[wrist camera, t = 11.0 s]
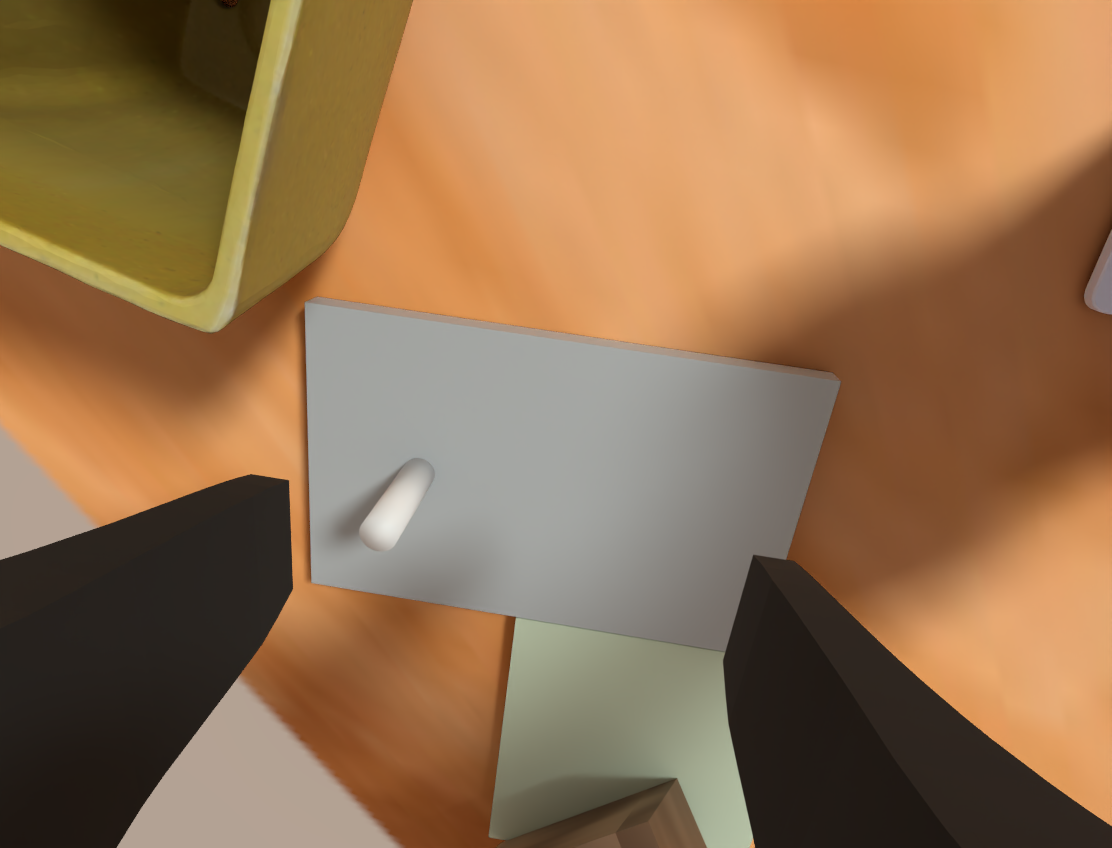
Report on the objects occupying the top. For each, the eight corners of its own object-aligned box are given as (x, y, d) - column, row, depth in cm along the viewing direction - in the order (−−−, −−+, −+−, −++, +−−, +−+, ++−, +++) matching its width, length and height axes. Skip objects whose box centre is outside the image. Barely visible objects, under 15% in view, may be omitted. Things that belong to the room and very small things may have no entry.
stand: (832, 372, 18) (892, 432, 14) (751, 640, 22) (780, 748, 18) (317, 296, 19) (233, 333, 15) (321, 569, 23) (255, 658, 19)
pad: (809, 654, 22) (813, 667, 21) (734, 867, 26) (737, 882, 26) (518, 606, 22) (515, 617, 22) (491, 823, 27) (488, 837, 26)
